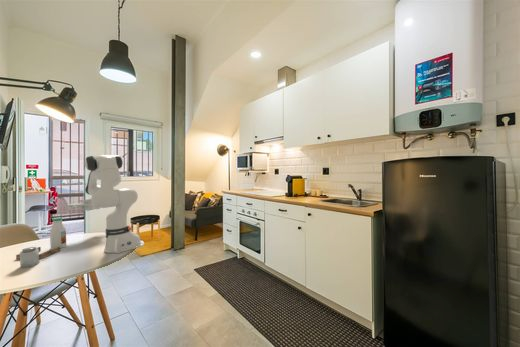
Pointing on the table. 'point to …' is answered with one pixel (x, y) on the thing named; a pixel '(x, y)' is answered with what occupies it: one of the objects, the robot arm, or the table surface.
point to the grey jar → (29, 257)
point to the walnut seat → (43, 253)
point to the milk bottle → (57, 234)
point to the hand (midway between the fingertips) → (73, 208)
